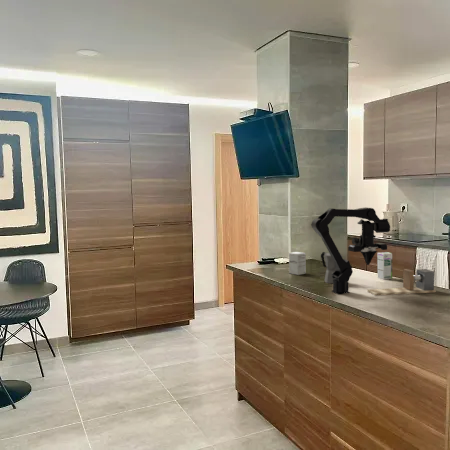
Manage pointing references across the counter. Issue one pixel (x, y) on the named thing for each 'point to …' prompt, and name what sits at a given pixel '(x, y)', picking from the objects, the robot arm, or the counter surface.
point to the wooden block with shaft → (410, 279)
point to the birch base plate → (397, 291)
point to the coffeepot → (328, 266)
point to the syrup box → (384, 265)
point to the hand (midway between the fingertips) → (367, 264)
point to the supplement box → (297, 263)
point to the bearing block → (425, 279)
